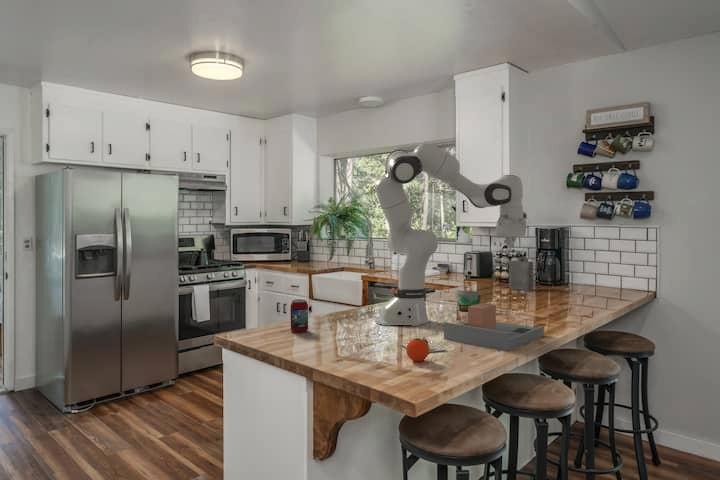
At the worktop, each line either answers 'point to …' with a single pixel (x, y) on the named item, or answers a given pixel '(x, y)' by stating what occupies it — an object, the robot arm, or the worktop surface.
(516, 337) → the tray
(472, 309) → the block
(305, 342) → the worktop surface
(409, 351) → the red tomato
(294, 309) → the beverage can
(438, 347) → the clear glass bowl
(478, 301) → the potted plant
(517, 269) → the flask
